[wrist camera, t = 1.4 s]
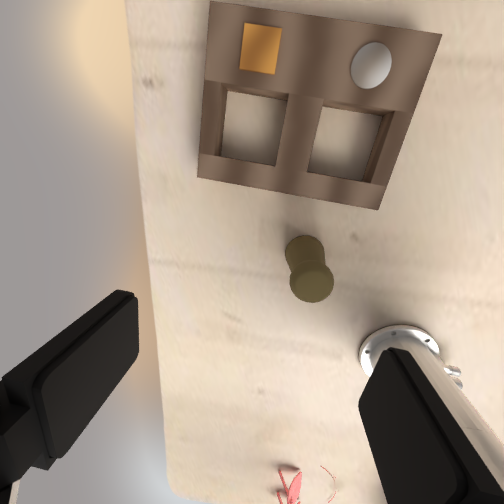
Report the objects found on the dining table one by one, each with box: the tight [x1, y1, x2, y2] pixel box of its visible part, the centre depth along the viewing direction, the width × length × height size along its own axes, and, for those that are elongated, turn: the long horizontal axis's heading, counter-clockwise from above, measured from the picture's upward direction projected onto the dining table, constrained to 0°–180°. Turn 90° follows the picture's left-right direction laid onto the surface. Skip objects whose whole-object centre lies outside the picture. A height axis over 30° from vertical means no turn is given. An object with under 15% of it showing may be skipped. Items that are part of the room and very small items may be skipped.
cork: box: [285, 236, 334, 303], centre depth 32 cm, size 6×6×11 cm
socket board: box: [197, 1, 442, 210], centre depth 29 cm, size 24×18×4 cm
